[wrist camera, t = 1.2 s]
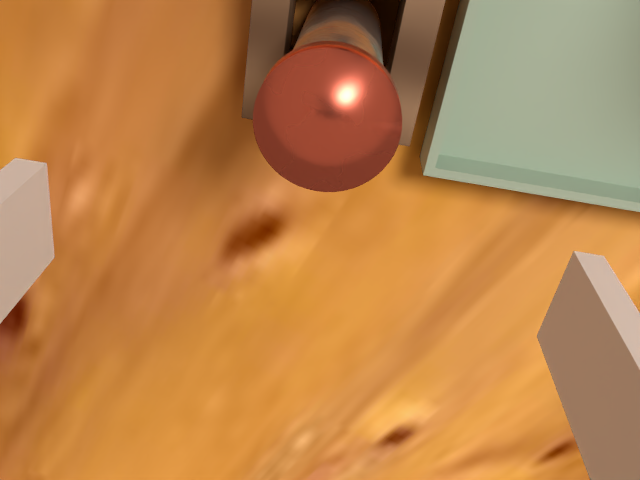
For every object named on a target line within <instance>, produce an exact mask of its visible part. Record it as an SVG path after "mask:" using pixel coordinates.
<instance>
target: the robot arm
mask: <svg viewBox="0 0 640 480" xmlns="http://www.w3.org/2000/svg"><path fill="white" fill-rule="evenodd" d="M54 258H55V255H54V243H53V231H52V219H51V207H50V195H49V184H48V172H47V163H43V162H37V161H31V160H25V159H19V158H15V159H13V160H12V161H11V162H10V163H8V164H7V165H6V166H5V167H3V168H2V169H1V170H0V323H1V322H2V321H3V320H4V318H5V317H6V316H7V315H8V314H9V312H10V311H11V310H12V309H13V307H14V306H15V305H16V304H17V303H18V301H19V300H20V299H21V298H22V297H23V295H24V294H25V293H26V292H27V290H28V289H29V288H30V287H31V286H32V284H33V283H34V282H35V281H36V279H37V278H38V277H39V276H40V275H41V273H42V272H43V271H44V270H45V268H46V267H47V266H48V265H49V264H50V262H51V261H52V260H53V259H54ZM537 338H538V341H539V343H540V346H541V349H542V351H543V354H544V357H545V359H546V362H547V365H548V368H549V370H550V373H551V376H552V378H553V381H554V384H555V386H556V389H557V392H558V394H559V397H560V400H561V402H562V405H563V408H564V411H565V413H566V416H567V419H568V421H569V424H570V427H571V429H572V432H573V435H574V437H575V440H576V443H577V445H578V448H579V451H580V453H581V456H582V459H583V462H584V464H585V467H586V470H587V472H588V475H589V478H590V480H640V313H639V311H638V310H637V308H636V306H635V305H634V303H633V302H632V300H631V298H630V297H629V295H628V294H627V292H626V291H625V289H624V287H623V286H622V284H621V283H620V281H619V279H618V278H617V276H616V275H615V273H614V271H613V270H612V268H611V267H610V265H609V263H608V262H607V260H606V259H605V257H604V256H601V255H595V254H589V253H583V252H577V251H573V254H572V256H571V258H570V261H569V263H568V265H567V268H566V270H565V272H564V274H563V277H562V279H561V281H560V284H559V286H558V288H557V291H556V293H555V295H554V298H553V300H552V302H551V304H550V307H549V309H548V311H547V314H546V316H545V318H544V321H543V323H542V325H541V327H540V330H539V332H538V334H537Z"/></svg>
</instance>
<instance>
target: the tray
mask: <svg viewBox="0 0 640 480" xmlns="http://www.w3.org/2000/svg"><path fill="white" fill-rule="evenodd" d="M420 161H421V166H422V172H423V175H425V176H431V177H437V178H443V179H449V180H454V181H460V182H466V183H472V184H478V185H484V186H490V187H496V188H501V189H507V190H513V191H519V192H525V193H531V194H537V195H543V196H549V197H554V198H560V199H566V200H572V201H578V202H584V203H590V204H596V205H602V206H607V207H613V208H619V209H625V210H631V211H637V212H640V0H460V2H459V5H458V9H457V13H456V17H455V21H454V25H453V29H452V33H451V36H450V40H449V44H448V48H447V52H446V56H445V60H444V64H443V68H442V71H441V75H440V79H439V83H438V87H437V91H436V95H435V99H434V102H433V106H432V110H431V114H430V118H429V122H428V126H427V130H426V133H425V137H424V141H423V145H422V149H421V153H420Z"/></svg>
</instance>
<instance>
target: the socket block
mask: <svg viewBox="0 0 640 480" xmlns="http://www.w3.org/2000/svg"><path fill="white" fill-rule="evenodd" d="M444 4H445V0H400V3H399V7H398V12H397V17H396V22H395V26H394V31H393V36H392V41H391V46H390V50H389V55H388V60H387V65H386V69H387V71H388V72H389V73H390V75H391V77H392V79H393V80H394V82H395V85H396V87H397V90H398V94H399V98H400V104H401V111H402V132H401V138H400V141H399V145H405V146H410V143H411V138H412V134H413V130H414V126H415V122H416V118H417V114H418V110H419V106H420V102H421V98H422V94H423V90H424V86H425V82H426V78H427V74H428V69H429V65H430V61H431V57H432V53H433V49H434V45H435V41H436V37H437V33H438V29H439V25H440V21H441V17H442V13H443V9H444ZM295 5H296V0H252V7H251V18H250V29H249V40H248V51H247V62H246V73H245V84H244V95H243V107H242V118H247V119H252V120H253V110H254V104H255V100H256V97H257V94H258V92H259V90H260V88H261V86H262V84H263V82H264V80H265V78H266V76H267V74H268V73H269V71H270V70H271V68H272V67H273V66H274V65H275V64H276V63H277V61H278V60H280V59H281V58H282V57H283V56H284V55H286V54H287V53H289V52H290V45H291V37H292V29H293V21H294V13H295Z"/></svg>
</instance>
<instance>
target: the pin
mask: <svg viewBox="0 0 640 480" xmlns="http://www.w3.org/2000/svg"><path fill="white" fill-rule="evenodd" d="M253 128H254V134H255V138H256V141H257V144H258V146H259V149H260V151H261V152H262V154H263V156H264V158H265V159H266V160H267V162H268V163H269V164H270V165H271V167H272V168H273V169H274V170H275V171H276V172H278V173H279V174H280V175H281V176H282V177H284V178H285V179H287V180H288V181H290V182H292V183H294V184H296V185H298V186H300V187H303V188H306V189H310V190H314V191H321V192H337V191H344V190H348V189H352V188H355V187H357V186H360V185H362V184H364V183H366V182H368V181H369V180H371V179H372V178H374V177H375V176H376V175H378V174H379V173H380V172H381V171H382V170H383V169H384V168H385V167H386V165H387V164H388V163H389V162H390V160H391V158H392V157H393V155H394V153H395V151H396V149H397V147H398V144H399V141H400V138H401V132H402V111H401V104H400V98H399V94H398V90H397V87H396V85H395V82H394V80H393V79H392V77H391V75H390V73H389V72H388V71H387V69H386V68H385V67H384V65H383V55H382V42H381V28H380V20H379V17H378V14H377V12H376V10H375V8H374V6H373V5H372V4H371V3H370V2H369V1H368V0H318V1H317V2H316V3H315V4H314V5H313V7H312V8H311V10H310V12H309V14H308V16H307V18H306V21H305V23H304V25H303V28H302V30H301V32H300V35H299V37H298V39H297V42H296V44H295V46H294V49H293V50H292V51H290V52H289V53H287V54H286V55H284V56H283V57H282V58H281V59H280V60H278V61H277V63H276V64H275V65H274V66H273V67H272V68H271V70H270V71H269V73H268V74H267V76H266V78H265V80H264V82H263V84H262V86H261V88H260V90H259V92H258V94H257V97H256V100H255V104H254V110H253Z"/></svg>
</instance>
